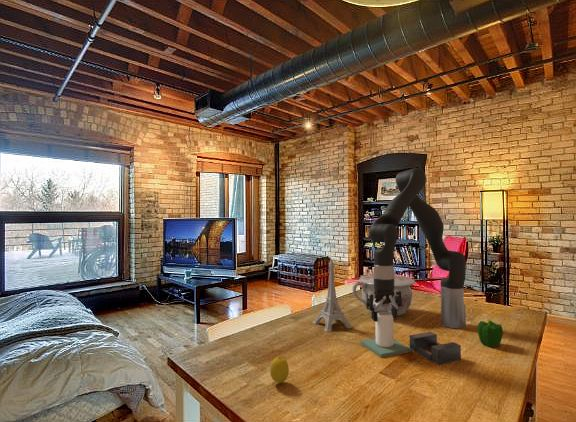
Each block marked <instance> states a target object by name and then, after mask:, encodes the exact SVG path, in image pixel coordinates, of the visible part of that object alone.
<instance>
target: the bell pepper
mask: <svg viewBox="0 0 576 422" xmlns="http://www.w3.org/2000/svg"><path fill="white" fill-rule="evenodd" d="M476 328H477V335H478V339H479V342H480V343H481V344H483V345H485V346H487V347H491V348H496V347H498V346H499V345H500V344H501V342H502V339H503V333H504V331H503V329H504V328H503V327H502V324H499V323H495V322H494V321H493V320H491V319H487V322H486V321H484V320H483V321H482V320H481V321H479V322H478V324H477V326H476Z"/></svg>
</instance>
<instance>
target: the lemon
mask: <svg viewBox="0 0 576 422" xmlns="http://www.w3.org/2000/svg"><path fill="white" fill-rule="evenodd" d="M289 370H290V369H289V365H288V362H287V360H286V359H285V358H284V357H281V356H277V357H275V358H274V359H273V360H272V361H271V364H270V369H269V372H270V373H269V374H270V376H271V377H270V378H271V379H272V381H274V382H276V383H278V385H280V384H282V383H283V382H285V381H286V380H287V378H288V376H289Z"/></svg>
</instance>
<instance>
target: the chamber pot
mask: <svg viewBox="0 0 576 422" xmlns="http://www.w3.org/2000/svg"><path fill="white" fill-rule="evenodd" d="M415 284H416V280H414V279H413V278H411V277H408V276H403V275H397V274H394V286H395V289H394V291H395V290H398V291H401V298H402V306H401V307H398V309H397V317H399V316H402V315H404V314H406V313H407V311H408V309H409V308H410V307H411V305H412V302H413V301H412V300H413V290H412V288H411V286H413V285H415ZM358 286H360V287H361V296H362V298H361V297H360V296H359V295H358V294H357V287H358ZM351 292H352V294H353V296H354V298H356V299H357V300H358V301H360V302H361V303H363V305H364V306H365V307H366V305H367V293H370V294H374V292H375V290H374V273H373V274H368V275H364V276H361V277H359V279H358V280H357V281H356V282H354V283H353V286H352V291H351ZM393 299H394V301H395V296H394V297H393ZM374 300H375V297H374V299H373V301H374ZM377 303H378V302H377ZM391 308H392V306H391V305H390V304H383V305H381V306H380V307H379V308H378V310H377V311H379V310H386V311H390V312H391Z"/></svg>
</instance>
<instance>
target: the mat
mask: <svg viewBox="0 0 576 422" xmlns="http://www.w3.org/2000/svg"><path fill="white" fill-rule="evenodd" d="M359 344H360V345H362V346H363V347H365V348H366V349H368V350H369V351H370V352H372V353H373V354H374V355H376V356H378V357H379V358H386V357H391V356H395V355H396V356H397V355H401V354H406V353H411V352H412V350H411V348H410V346H407V345H405V344H403V343H402V342H400V341H398V340H396V339H394V345H393V346H392V347H388V348H386V347H380V346H378V345H377V344H376V337H374V338H368V339H362V340H360V341H359Z"/></svg>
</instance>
